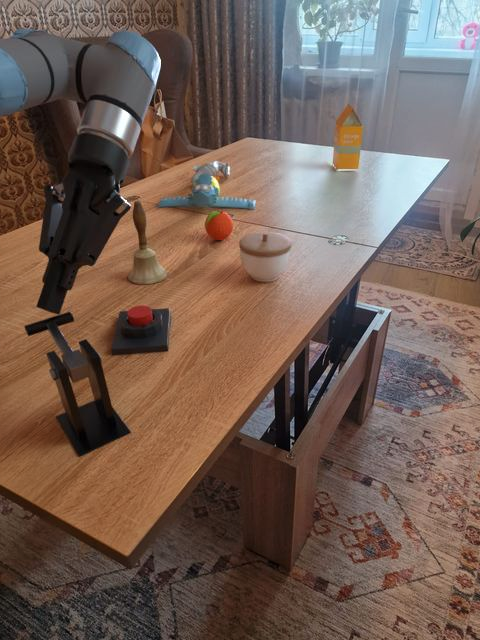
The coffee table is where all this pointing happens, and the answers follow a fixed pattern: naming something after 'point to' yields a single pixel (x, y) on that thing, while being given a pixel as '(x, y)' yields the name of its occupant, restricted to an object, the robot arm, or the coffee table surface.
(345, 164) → the orange juice
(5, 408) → the coffee table surface
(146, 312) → the button
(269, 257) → the trinket box
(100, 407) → the lever bracket
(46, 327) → the press lever
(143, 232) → the hand bell
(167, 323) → the control block
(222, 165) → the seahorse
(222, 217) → the clementine
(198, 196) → the blue toy plane
